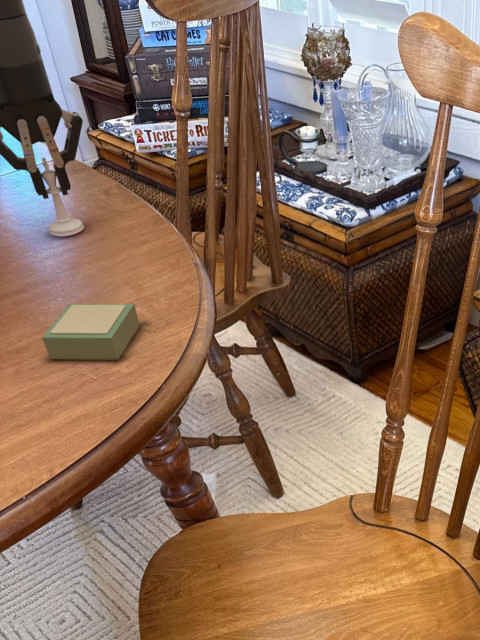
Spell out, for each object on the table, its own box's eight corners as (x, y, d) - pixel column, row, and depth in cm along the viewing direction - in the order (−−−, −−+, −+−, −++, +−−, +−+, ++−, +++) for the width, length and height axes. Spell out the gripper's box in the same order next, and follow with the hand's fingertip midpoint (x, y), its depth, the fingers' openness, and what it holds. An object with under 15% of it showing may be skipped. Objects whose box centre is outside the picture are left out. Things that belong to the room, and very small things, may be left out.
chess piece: (54, 239, 113) (29, 167, 106) (46, 228, 116) (21, 157, 109) (88, 230, 115) (65, 159, 108) (78, 220, 118) (56, 150, 111)
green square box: (50, 359, 89) (41, 335, 87) (76, 324, 95) (68, 301, 93) (118, 360, 88) (110, 336, 86) (140, 325, 94) (133, 302, 92)
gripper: (61, 44, 105) (99, 178, 117) (-49, 59, 101) (2, 196, 113) (70, 55, 100) (108, 194, 112) (-46, 71, 96) (7, 213, 108)
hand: (55, 194), depth 112 cm, fingers closed on chess piece
